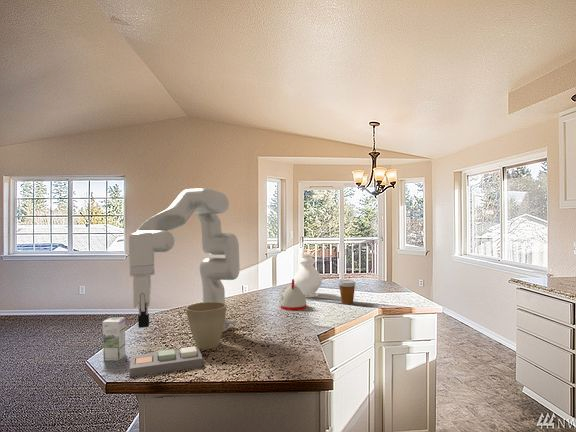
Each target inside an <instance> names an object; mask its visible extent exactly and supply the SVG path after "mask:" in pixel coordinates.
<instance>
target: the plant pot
mask: <svg viewBox="0 0 576 432" xmlns="http://www.w3.org/2000/svg"><path fill="white" fill-rule="evenodd" d="M185 309H186V316H187V321H188V325H189V328H190V332H191V335H192V338H193V340H194V343H195V345H196V346H195V347H199V349H200V350H211V349H215V348H217V347H219V345H220V341H221V338H222V335H223V332H222V331H223V326H224V321H225V318H226V314H227V313H226V312H227V304H226V302H225V303H222V302H203V301H202V302H198V303H194V304H193V303H192V304H190V305H187V306H186V308H185Z"/></svg>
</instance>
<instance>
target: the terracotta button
mask: <svg viewBox="0 0 576 432" xmlns="http://www.w3.org/2000/svg"><path fill="white" fill-rule="evenodd" d="M148 362H152V356H151V357H143V358H136V363H135V364H141V363H148Z"/></svg>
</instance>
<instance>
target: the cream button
mask: <svg viewBox="0 0 576 432" xmlns="http://www.w3.org/2000/svg"><path fill="white" fill-rule="evenodd" d="M196 347H197V346H187V347H180V348H179V349H180V356H181V358H185V357H192V356H197V350H196Z"/></svg>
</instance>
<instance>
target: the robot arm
mask: <svg viewBox="0 0 576 432" xmlns="http://www.w3.org/2000/svg"><path fill="white" fill-rule="evenodd" d="M229 202H230V201H229V198H228V197H227V195H226V194H225V193H223V192H220V191H217V190H215V189H213V188H212V189H211V188H208V187H206V188H205V187H201V188H199V187H197V188H187V189H184V190H182V191H181V192H180V193H179V194H178V195H177V196H176V198H174V200H173V201H172V202H171V203H170V204H169V206H168V207H167V208H166V209H165V210H163V211H160V212H159V213H157V214H155V215H154V216H151V217H150V218H148V219H146V220H145V221H143V222H142V223H141V225H140V226H139V227H138V228H137V229H136V231H135V232H132V233H130V234H129V236H128V257H129V258H128V260H129V261H128V262H129V277H132V278H133V279H132V292H133V293H132V296H133V299H132V301H133V305H132V306H133V308H134V309H136V308H138V314H137V322H138V328H139V329H142V328H149V327H150V314H149V307H150V305H151V295H152V279H151V278H152V277H151V276H154V275H155V253H166V252H169V251H170V250H171V249H172V248H173V247H174V245H175V237H174V235H173V234H172V233H171V232H170V231H172V230H174V229H178V228H180V227H182V226H184V225H185V224H186V223H187V221H188V220H189V219H190V218H191V216H192V215H193V214H194V215H196V217H197V218H198V220H199V222H200V226H201V245H202V250H203V253H204V254H207V255H212V256H213V255H214V256H216V255H217V256H225V257H207V258H204V259H203V260H201V262H200V264H199V274H200V278H201V279H200V280H201V287H202V288H201V289H202V302H222V303H225V304H226V299H225V297H226V294H225V293H226V290H225V286H224V284H223V283H222V281H233V280H236V279H237V278H239V276H240V275H239V274H240V269H241V267H240V266H241V265H240V244H239V239H238V237H237V236H236V235H235V234H234V233H232V232H222V223H221V219H220V216H219V215H218V214H224V213H226V212H227V211H228V209H229V206H230V203H229ZM236 324H237V320H236V319H232V318H229V319H227V318H226V317H225V321H224V326H223V331H222V333H225V332H227V331H228V330H229V329H230V325H236Z"/></svg>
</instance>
